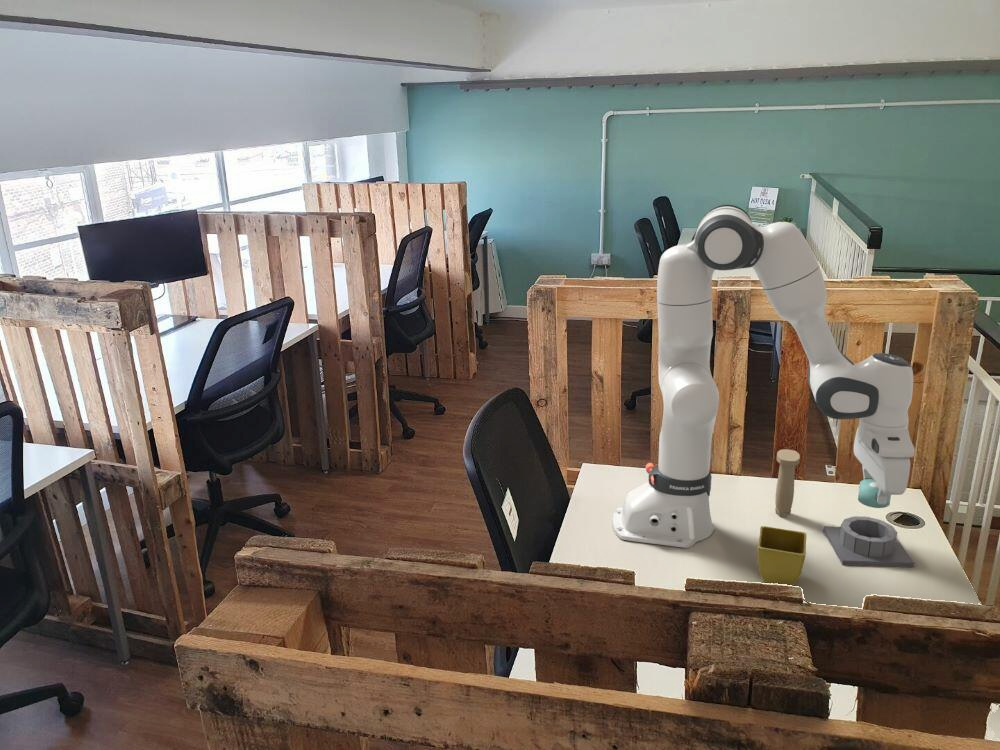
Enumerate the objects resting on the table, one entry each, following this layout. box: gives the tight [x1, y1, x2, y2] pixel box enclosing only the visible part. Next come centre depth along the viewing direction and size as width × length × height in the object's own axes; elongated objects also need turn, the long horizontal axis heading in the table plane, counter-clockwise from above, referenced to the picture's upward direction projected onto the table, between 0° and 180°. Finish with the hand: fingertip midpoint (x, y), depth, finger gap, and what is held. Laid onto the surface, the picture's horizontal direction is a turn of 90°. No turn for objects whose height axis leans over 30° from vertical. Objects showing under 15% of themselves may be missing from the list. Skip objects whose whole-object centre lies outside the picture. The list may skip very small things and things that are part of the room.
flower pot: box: [757, 525, 807, 586], centre depth 153 cm, size 9×9×9 cm
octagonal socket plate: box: [822, 515, 916, 568], centre depth 163 cm, size 14×14×5 cm
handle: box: [774, 449, 801, 518], centre depth 177 cm, size 5×6×15 cm
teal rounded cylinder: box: [857, 479, 892, 509], centre depth 160 cm, size 6×6×4 cm
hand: (874, 494), depth 160 cm, fingers closed on teal rounded cylinder, 6 cm apart
